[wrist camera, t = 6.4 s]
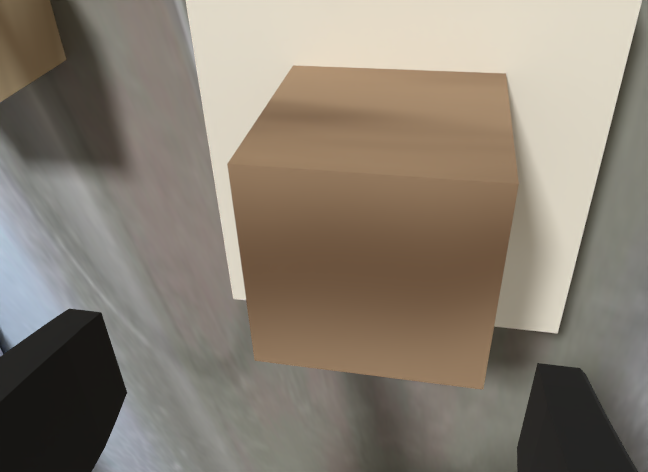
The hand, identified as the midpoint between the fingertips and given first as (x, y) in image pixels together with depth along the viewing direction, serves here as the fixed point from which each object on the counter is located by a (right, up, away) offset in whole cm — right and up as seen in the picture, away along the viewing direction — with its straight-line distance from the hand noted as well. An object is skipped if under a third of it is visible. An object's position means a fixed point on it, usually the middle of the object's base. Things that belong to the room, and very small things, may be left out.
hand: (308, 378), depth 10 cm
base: (+2, +5, +7) cm, 9 cm away
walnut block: (+2, +4, +6) cm, 7 cm away
